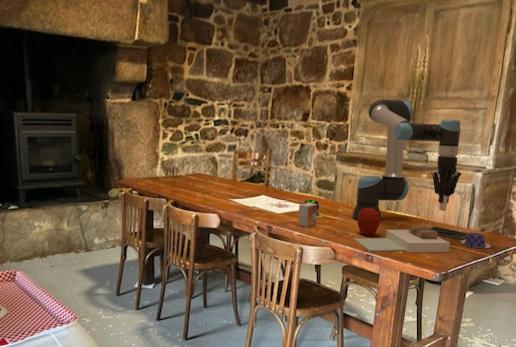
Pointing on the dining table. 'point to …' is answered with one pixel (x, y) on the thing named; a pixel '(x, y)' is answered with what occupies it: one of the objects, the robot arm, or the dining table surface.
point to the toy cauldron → (314, 203)
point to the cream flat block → (417, 242)
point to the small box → (307, 214)
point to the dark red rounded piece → (368, 221)
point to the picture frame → (450, 233)
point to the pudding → (475, 241)
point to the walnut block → (423, 232)
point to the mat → (379, 244)
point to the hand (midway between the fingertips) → (442, 210)
